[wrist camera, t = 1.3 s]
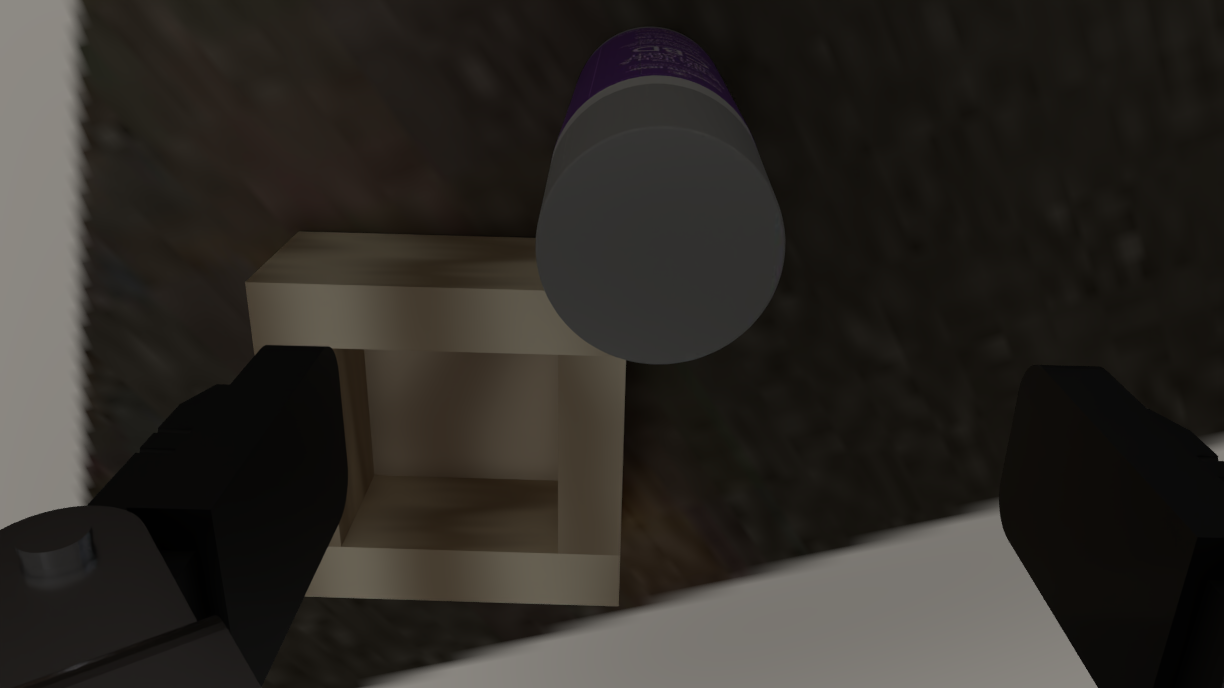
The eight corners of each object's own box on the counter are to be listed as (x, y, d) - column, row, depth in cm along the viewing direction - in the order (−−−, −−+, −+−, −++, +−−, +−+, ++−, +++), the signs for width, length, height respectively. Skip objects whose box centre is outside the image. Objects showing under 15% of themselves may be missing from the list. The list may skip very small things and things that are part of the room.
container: (706, 7, 30) (765, 87, 17) (737, 156, 32) (814, 340, 18) (557, 47, 31) (494, 156, 17) (596, 191, 33) (567, 395, 19)
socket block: (629, 240, 33) (628, 292, 29) (620, 521, 38) (618, 606, 33) (298, 231, 33) (245, 282, 29) (328, 512, 38) (285, 595, 33)
